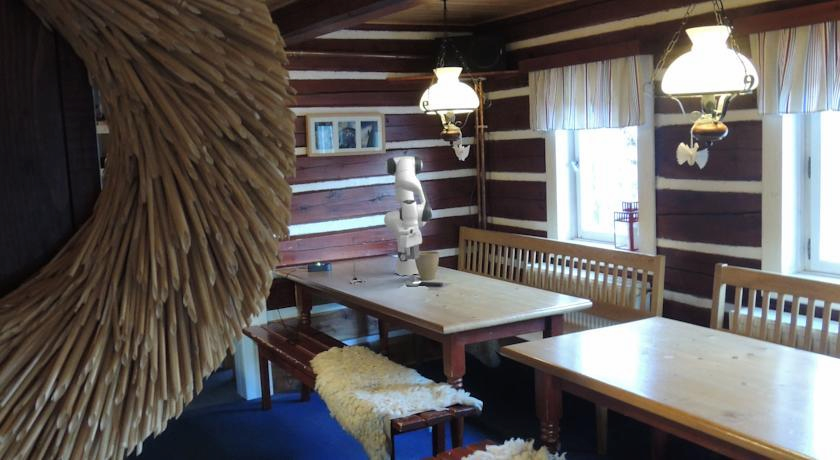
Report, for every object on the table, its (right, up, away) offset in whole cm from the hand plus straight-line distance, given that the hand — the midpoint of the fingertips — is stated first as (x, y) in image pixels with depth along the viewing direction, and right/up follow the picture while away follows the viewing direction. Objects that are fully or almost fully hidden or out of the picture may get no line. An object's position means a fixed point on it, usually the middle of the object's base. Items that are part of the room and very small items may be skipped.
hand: (412, 254), depth 437 cm
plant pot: (+9, -16, +20) cm, 27 cm away
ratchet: (+7, -18, -1) cm, 19 cm away
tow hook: (-32, -18, +23) cm, 43 cm away
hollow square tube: (0, -2, 0) cm, 2 cm away
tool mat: (+6, -18, -1) cm, 19 cm away
